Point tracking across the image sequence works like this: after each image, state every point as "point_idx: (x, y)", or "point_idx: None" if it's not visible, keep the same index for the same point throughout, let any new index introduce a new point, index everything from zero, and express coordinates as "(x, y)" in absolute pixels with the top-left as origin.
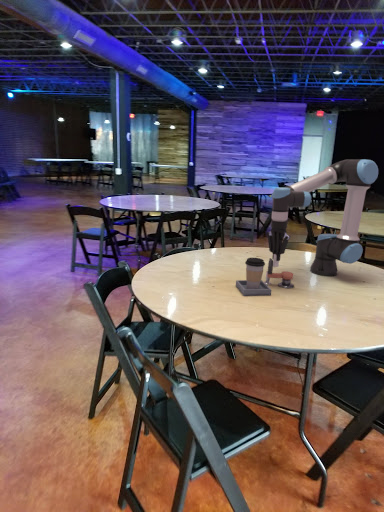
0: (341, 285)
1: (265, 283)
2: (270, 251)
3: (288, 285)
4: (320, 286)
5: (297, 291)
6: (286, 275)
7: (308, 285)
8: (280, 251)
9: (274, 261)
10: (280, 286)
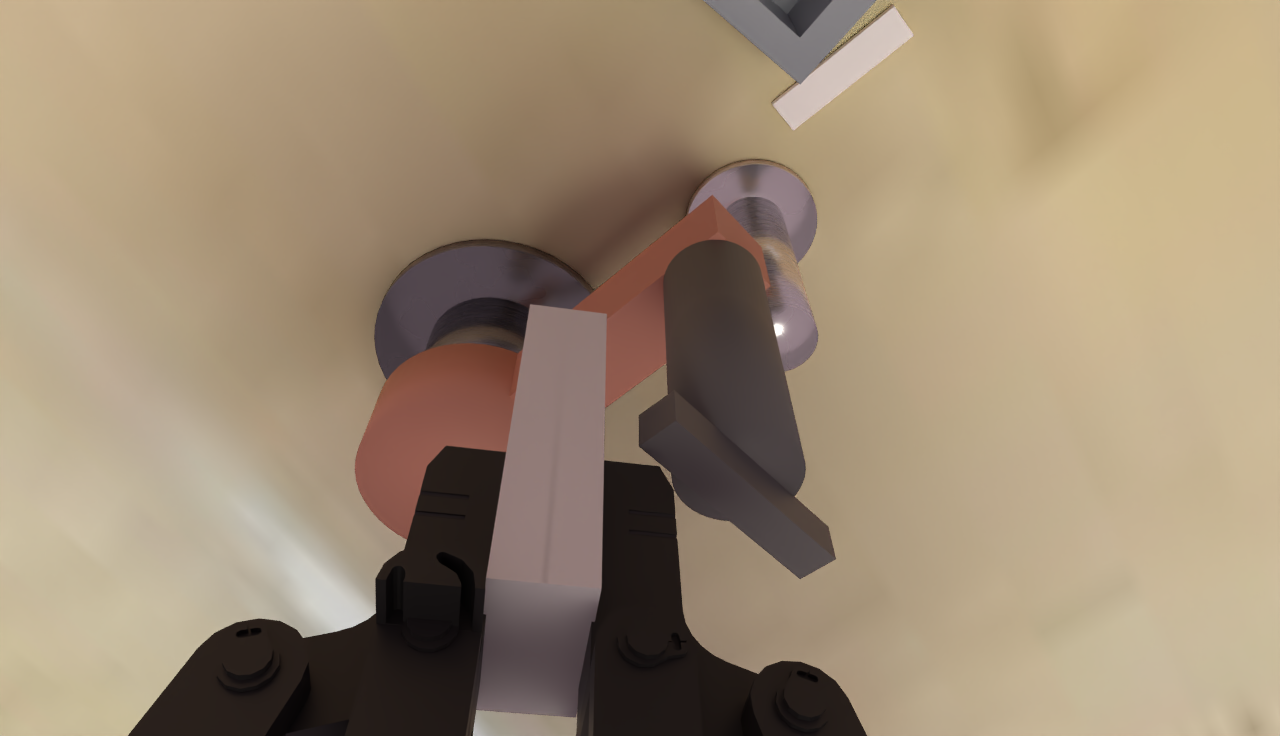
0: None
1: (757, 173)
2: (786, 671)
3: (431, 333)
4: (222, 595)
5: (234, 259)
6: (414, 394)
7: (322, 539)
8: (216, 733)
9: (553, 403)
10: (515, 245)
